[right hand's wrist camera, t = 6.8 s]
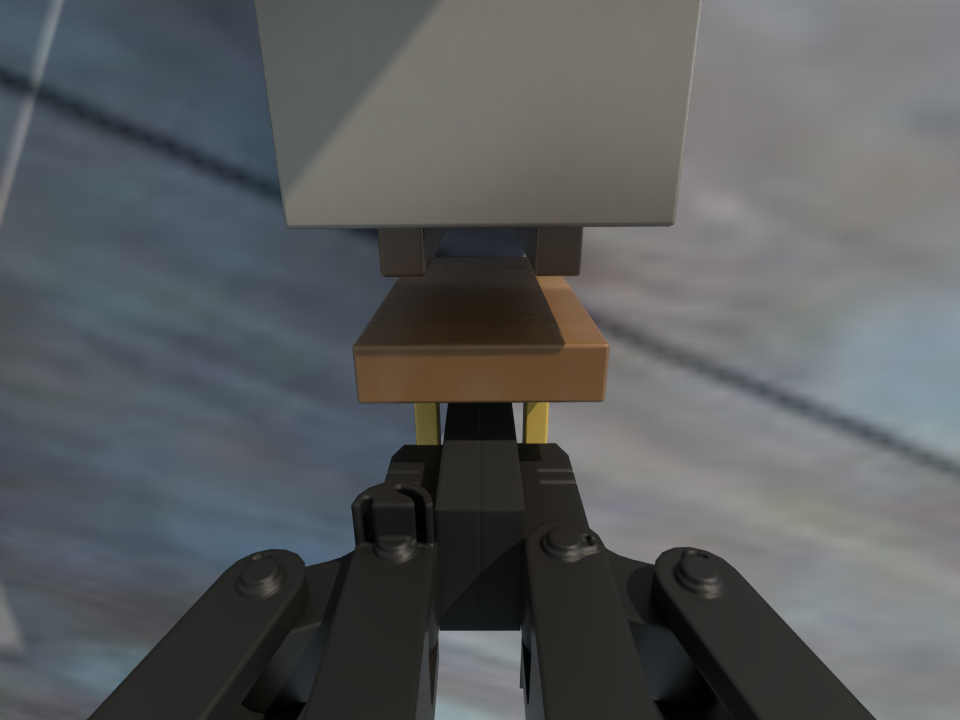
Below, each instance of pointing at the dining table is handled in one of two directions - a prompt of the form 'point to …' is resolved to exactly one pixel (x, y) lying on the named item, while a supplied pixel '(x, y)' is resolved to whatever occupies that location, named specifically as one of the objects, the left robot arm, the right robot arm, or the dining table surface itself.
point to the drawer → (481, 330)
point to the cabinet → (478, 111)
